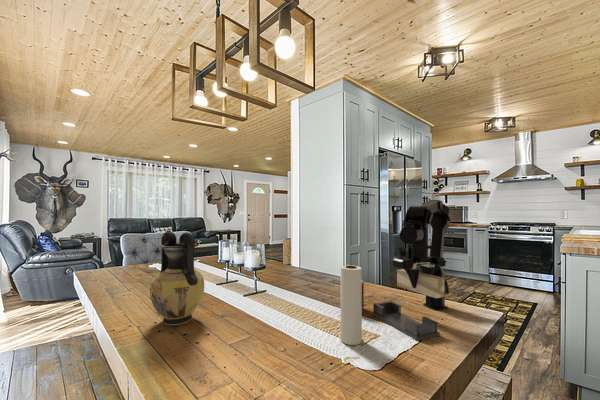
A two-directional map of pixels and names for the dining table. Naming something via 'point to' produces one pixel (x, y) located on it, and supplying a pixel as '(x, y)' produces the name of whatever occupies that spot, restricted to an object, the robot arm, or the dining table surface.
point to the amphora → (177, 280)
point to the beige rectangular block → (422, 284)
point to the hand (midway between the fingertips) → (419, 287)
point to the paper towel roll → (351, 305)
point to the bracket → (405, 321)
